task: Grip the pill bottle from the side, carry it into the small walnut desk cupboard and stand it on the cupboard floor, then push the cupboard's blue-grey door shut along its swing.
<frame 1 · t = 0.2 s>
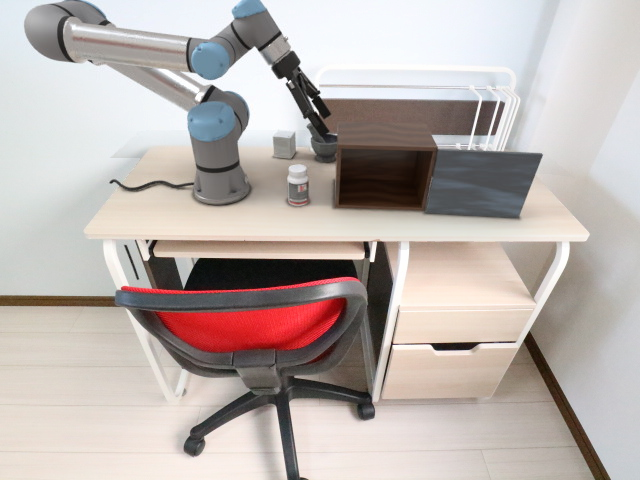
hand: (326, 125, 110), 15 cm above the table, tool tilted 35°, fingers open, 13 cm apart
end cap: (423, 171, 122), on the table
cabinet: (377, 194, 109), on the table
product box: (285, 155, 130), on the table
pill bottle: (298, 201, 106), on the table
mortar and pestle: (323, 158, 128), on the table
cabinet door: (477, 180, 98), point 9 cm above the table, hinge at 178.0°
crab figurine: (485, 180, 117), on the table
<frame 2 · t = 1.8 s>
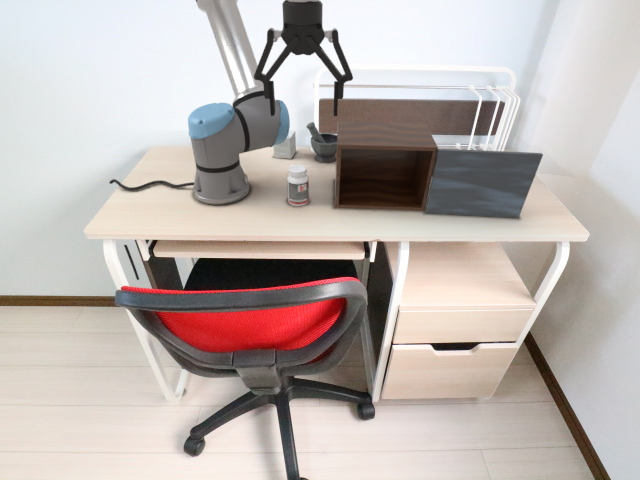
hand: (304, 114, 84), 26 cm above the table, tool pointing down, fingers open, 13 cm apart
nothing on the table moved.
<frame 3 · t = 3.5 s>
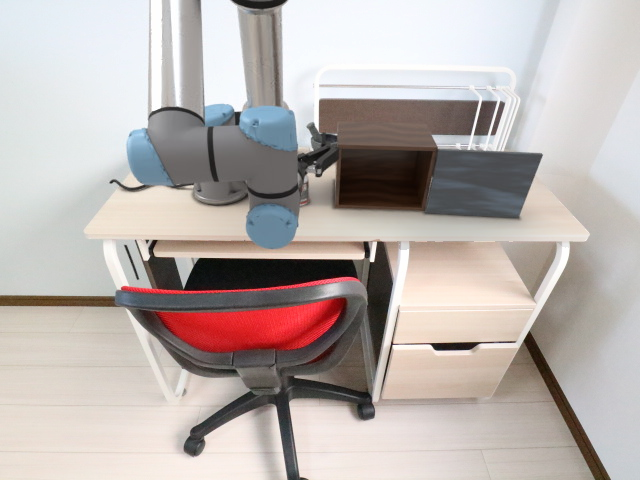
hand: (293, 137, 85), 22 cm above the table, tool horizontal, fingers open, 13 cm apart
nothing on the table moved.
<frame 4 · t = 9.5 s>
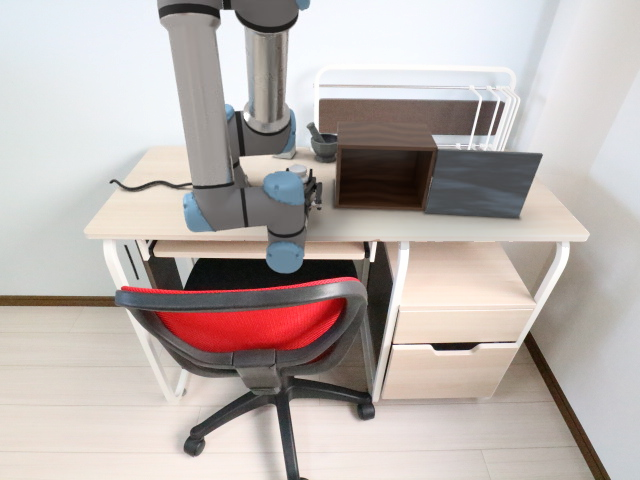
hand: (299, 172, 106), 6 cm above the table, tool horizontal, fingers closed on pill bottle, 6 cm apart
pill bottle: (298, 201, 106), on the table, touching gripper
everything else where it was.
when the fingers open (7 cm above the table, at t = 20.4 s): pill bottle stays where it is, resting on cabinet.
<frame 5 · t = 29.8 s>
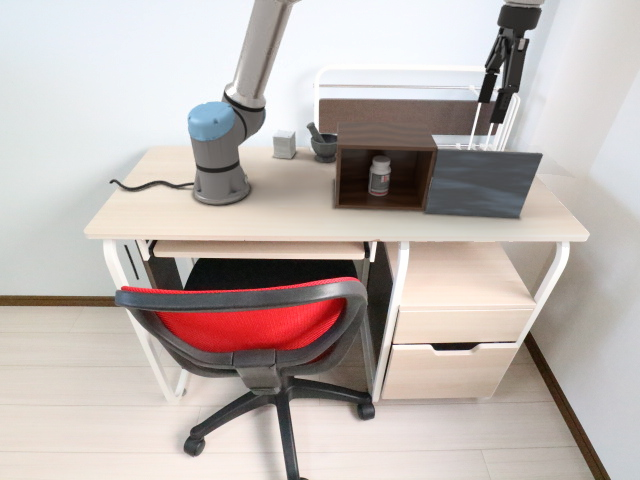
hand: (489, 112, 89), 26 cm above the table, tool pointing down, fingers open, 13 cm apart
pill bottle: (377, 192, 109), point 1 cm above the table, touching cabinet
everything else where it was.
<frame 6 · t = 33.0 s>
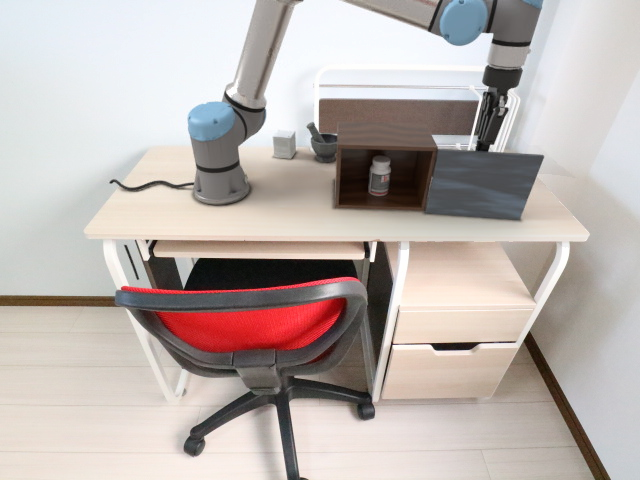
hand: (477, 167, 96), 13 cm above the table, tool pointing down, fingers closed
cabinet door: (478, 180, 98), point 9 cm above the table, hinge at 175.7°, touching gripper
everything else where it was.
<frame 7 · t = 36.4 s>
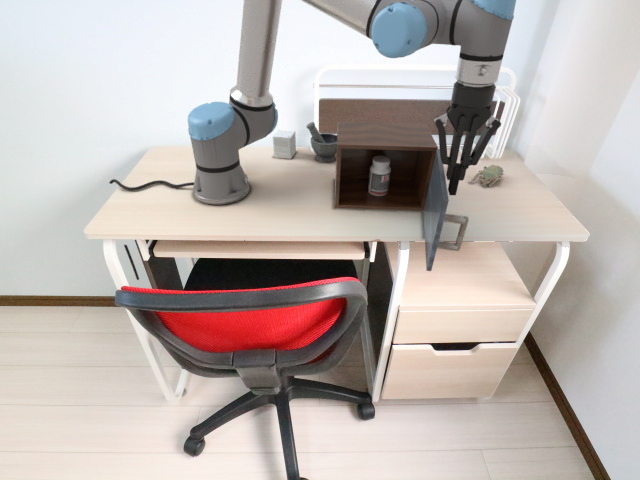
hand: (451, 192, 86), 12 cm above the table, tool pointing down, fingers closed
cabinet door: (445, 208, 87), point 9 cm above the table, hinge at 81.5°, touching gripper
everything else where it was.
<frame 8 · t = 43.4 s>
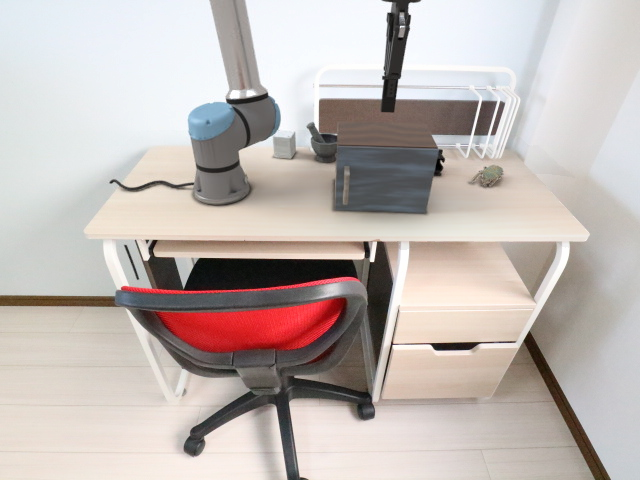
hand: (387, 111, 81), 28 cm above the table, tool pointing down, fingers closed
cabinet door: (384, 185, 95), point 9 cm above the table, hinge at -0.2°
everything else where it was.
at the end: pill bottle inside the target area in the cabinet (0.1 cm from its centre), point 0.8 cm above the cabinet's base; pill bottle tilted 0°; cabinet door at +0° (first picture: +178°) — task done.
